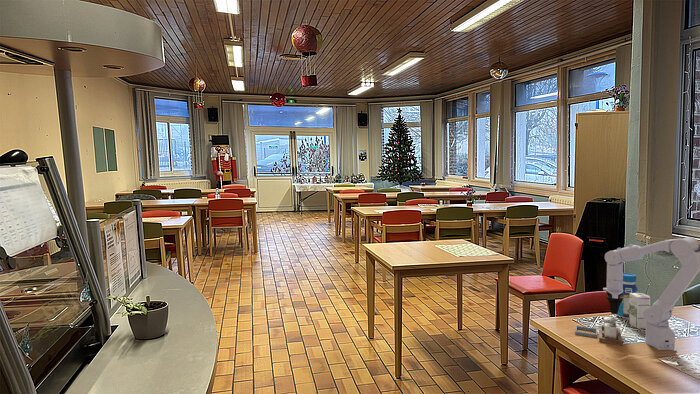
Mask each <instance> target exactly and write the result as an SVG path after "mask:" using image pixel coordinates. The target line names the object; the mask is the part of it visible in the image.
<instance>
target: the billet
mask: <svg viewBox="0 0 700 394" xmlns="http://www.w3.org/2000/svg"><path fill="white" fill-rule="evenodd" d="M605 323H609V324H616V325H617V320H616V318H615V317H609V316H604V317H603V326H605Z"/></svg>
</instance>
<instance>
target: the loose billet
mask: <svg viewBox="0 0 700 394" xmlns="http://www.w3.org/2000/svg"><path fill="white" fill-rule="evenodd" d="M603 326H604V325H603ZM617 328H618V327H617V323H616V324H609V323H605V326H604V338H609V339H615V340H616V335H617Z"/></svg>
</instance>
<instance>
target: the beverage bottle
mask: <svg viewBox="0 0 700 394" xmlns="http://www.w3.org/2000/svg"><path fill="white" fill-rule="evenodd" d="M636 282H637V275H636V274H634V273H629V272H623V293H622V294H621V296H620V298H623V301H622V302H621V304H620V306H619V310H618V314H615V315H616V316H617V317H618V316H619V318H621V317H622V319H624V318H626V320H629V299H630V293H638V291H639V290H638V287H637V285H636Z"/></svg>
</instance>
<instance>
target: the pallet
mask: <svg viewBox="0 0 700 394" xmlns="http://www.w3.org/2000/svg"><path fill="white" fill-rule="evenodd" d="M598 341H599V342H600V343H604V344H609V345H617V346H622V345H623V341H622V334H621V328H620V327H617V335H616V340H615V339H609V338H604V325H601V324H598Z"/></svg>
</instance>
